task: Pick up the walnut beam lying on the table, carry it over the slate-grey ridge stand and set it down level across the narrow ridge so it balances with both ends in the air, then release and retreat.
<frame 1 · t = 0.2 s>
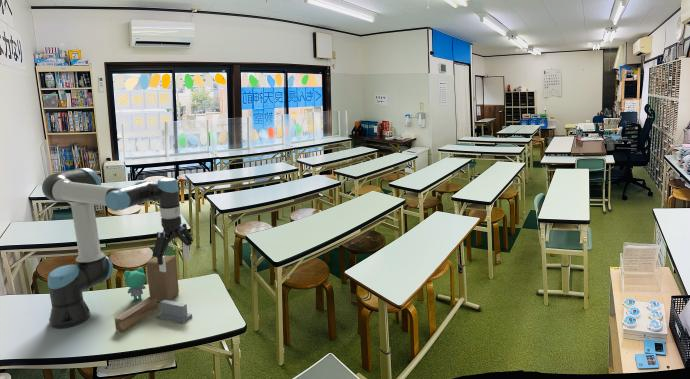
hand: (175, 265, 180), 27 cm above the table, fingers open, 13 cm apart
wooden block: (164, 297, 210), on the table
ridge stand: (174, 317, 192), on the table
beam: (138, 320, 190), on the table
toy: (137, 299, 209), on the table
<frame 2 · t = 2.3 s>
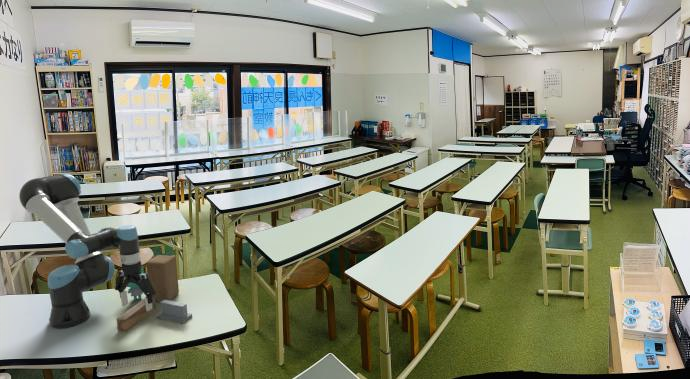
hand: (137, 307, 188), 6 cm above the table, fingers open, 13 cm apart
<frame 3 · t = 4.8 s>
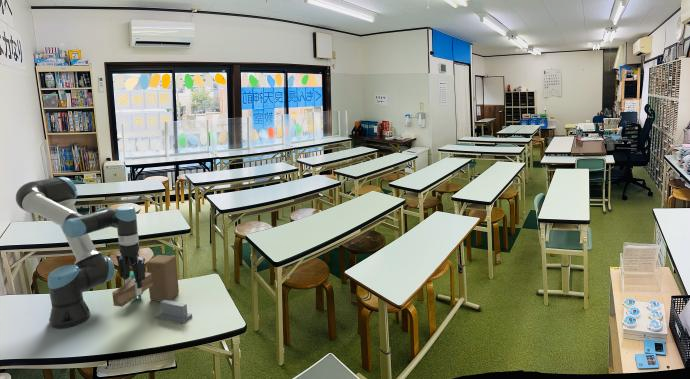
hand: (134, 293, 187), 12 cm above the table, fingers closed on beam, 4 cm apart
beam: (134, 294, 187), point 12 cm above the table, touching gripper
everything else where it was.
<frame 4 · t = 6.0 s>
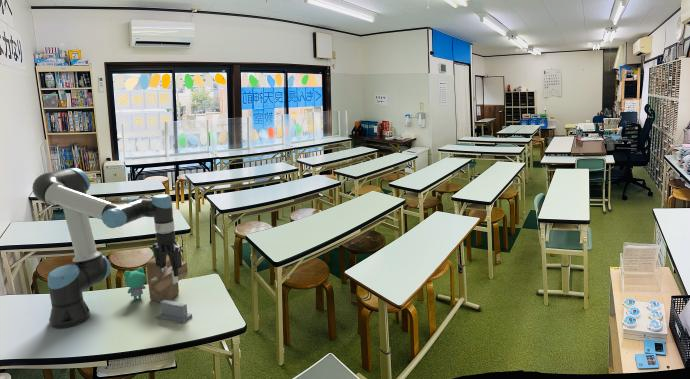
hand: (170, 282, 187), 17 cm above the table, fingers closed on beam, 4 cm apart
beam: (170, 283, 188), point 17 cm above the table, touching gripper
everything else where it was.
when the fingers open (8 cm above the table, at t = 7.0 s): beam stays where it is, resting on ridge stand.
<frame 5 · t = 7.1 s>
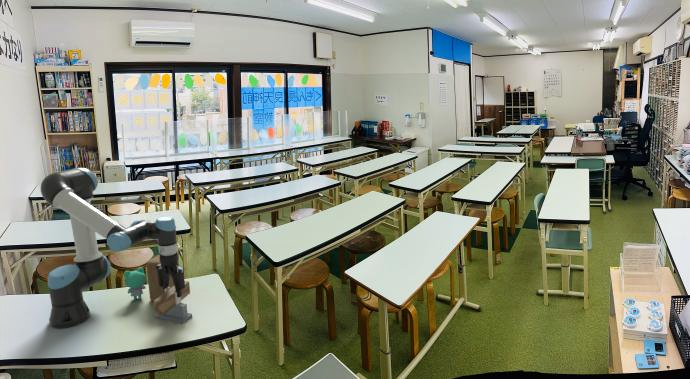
hand: (173, 302, 190), 7 cm above the table, fingers open, 5 cm apart
beam: (173, 303, 190), point 7 cm above the table, touching ridge stand
everything else where it was.
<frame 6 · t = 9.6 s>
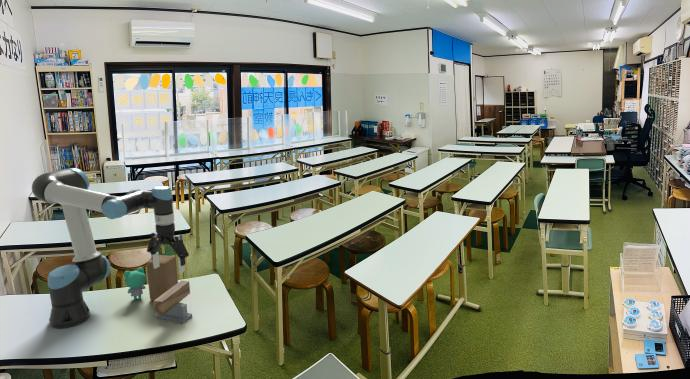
hand: (169, 269, 187), 23 cm above the table, fingers open, 13 cm apart
nothing on the table moved.
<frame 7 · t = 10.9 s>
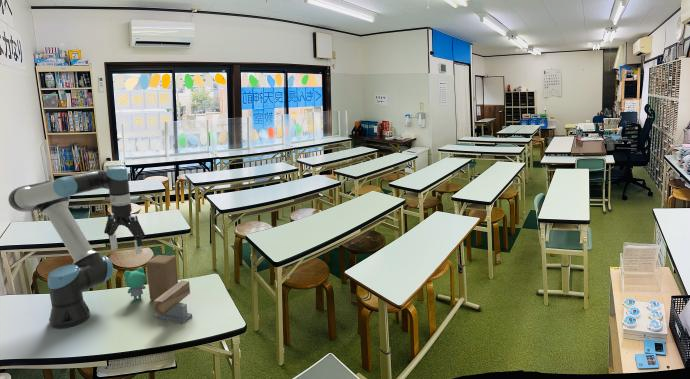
hand: (126, 251, 186), 31 cm above the table, fingers open, 13 cm apart
nothing on the table moved.
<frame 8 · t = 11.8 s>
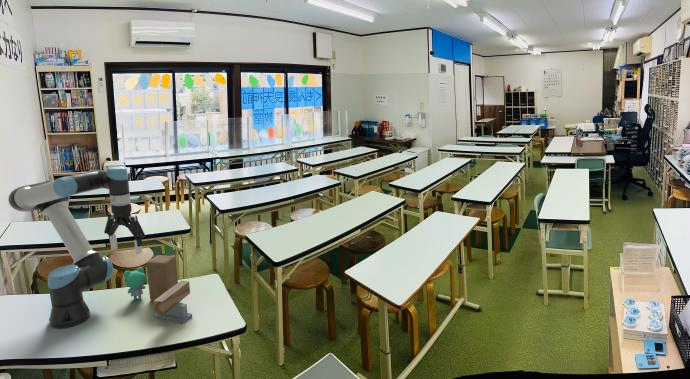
hand: (126, 251, 186), 31 cm above the table, fingers open, 13 cm apart
nothing on the table moved.
at the end: beam 0.0 cm off-centre on the ridge stand, point 7.0 cm above the ridge stand's base; beam tilted 0°; beam touching ridge stand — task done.
